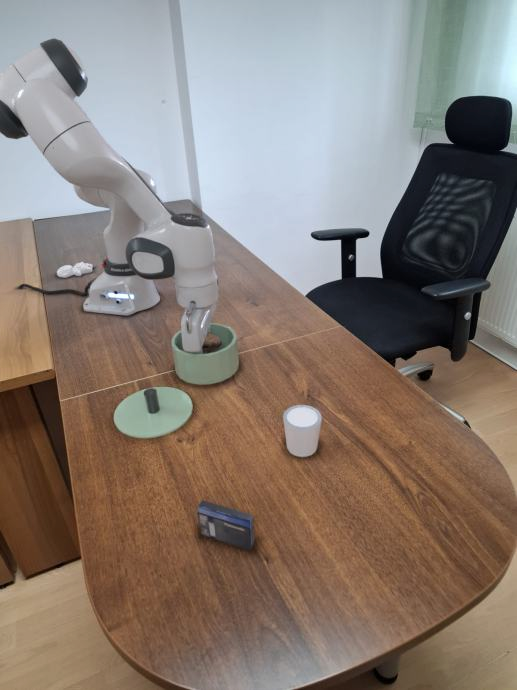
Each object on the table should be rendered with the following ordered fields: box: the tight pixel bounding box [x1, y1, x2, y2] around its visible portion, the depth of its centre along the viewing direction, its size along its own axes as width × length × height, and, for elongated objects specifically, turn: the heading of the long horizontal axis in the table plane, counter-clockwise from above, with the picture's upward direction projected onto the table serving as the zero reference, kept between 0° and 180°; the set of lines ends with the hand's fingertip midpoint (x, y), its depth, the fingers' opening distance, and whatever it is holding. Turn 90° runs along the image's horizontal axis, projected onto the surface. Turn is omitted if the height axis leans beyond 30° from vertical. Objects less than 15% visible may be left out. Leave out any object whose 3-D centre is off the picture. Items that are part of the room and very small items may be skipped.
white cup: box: [282, 404, 323, 458], centre depth 83 cm, size 7×7×7 cm
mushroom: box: [188, 334, 222, 354], centre depth 105 cm, size 8×8×6 cm
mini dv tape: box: [197, 499, 256, 551], centre depth 68 cm, size 8×2×6 cm, turn 69°
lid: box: [113, 386, 194, 439], centre depth 93 cm, size 16×16×6 cm
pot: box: [170, 322, 240, 386], centre depth 106 cm, size 15×15×8 cm
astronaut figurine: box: [56, 261, 94, 279], centre depth 162 cm, size 9×12×3 cm
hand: (203, 348), depth 105 cm, fingers closed on mushroom, 7 cm apart
